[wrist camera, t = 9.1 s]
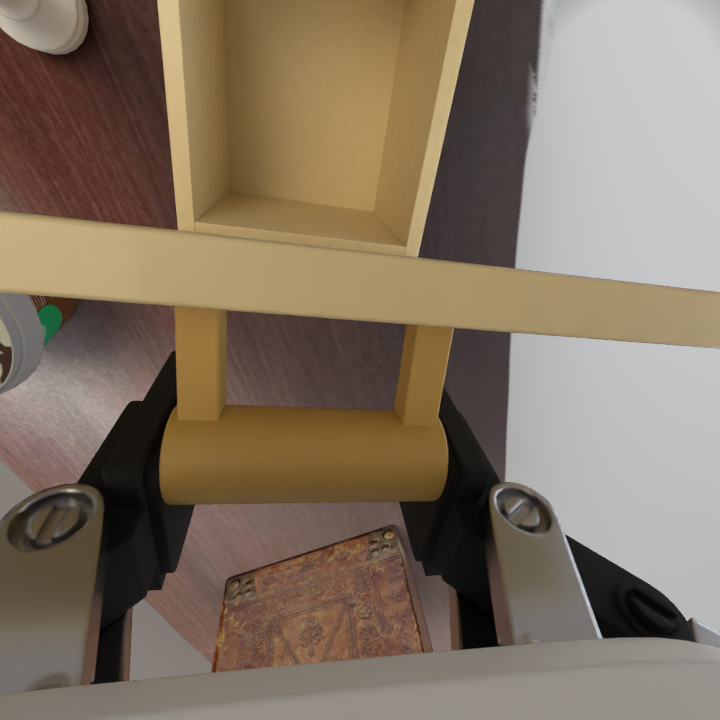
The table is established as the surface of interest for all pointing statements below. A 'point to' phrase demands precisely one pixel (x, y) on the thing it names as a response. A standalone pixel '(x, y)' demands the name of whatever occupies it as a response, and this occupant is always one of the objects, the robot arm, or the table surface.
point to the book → (323, 607)
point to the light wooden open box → (310, 116)
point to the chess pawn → (45, 23)
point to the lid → (325, 300)
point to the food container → (28, 332)
